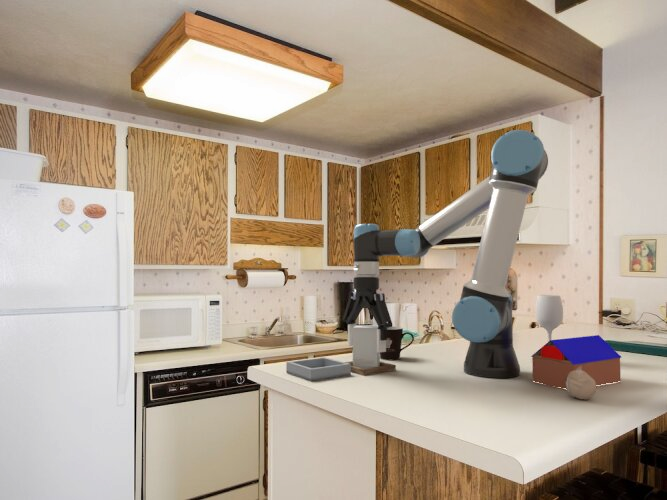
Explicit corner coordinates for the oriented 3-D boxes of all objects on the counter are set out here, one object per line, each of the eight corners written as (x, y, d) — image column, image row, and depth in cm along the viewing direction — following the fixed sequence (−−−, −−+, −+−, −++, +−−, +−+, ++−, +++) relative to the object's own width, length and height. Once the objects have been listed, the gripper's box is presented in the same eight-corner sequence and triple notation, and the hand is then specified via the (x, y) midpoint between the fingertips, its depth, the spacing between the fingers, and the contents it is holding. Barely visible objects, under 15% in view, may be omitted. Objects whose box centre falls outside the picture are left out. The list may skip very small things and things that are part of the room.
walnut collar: (395, 370, 137) (395, 365, 137) (363, 375, 130) (363, 369, 130) (369, 363, 146) (369, 358, 146) (338, 368, 140) (338, 363, 140)
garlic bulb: (559, 397, 107) (558, 361, 107) (576, 393, 110) (575, 359, 110) (587, 404, 101) (586, 366, 102) (604, 400, 104) (603, 363, 105)
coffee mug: (371, 358, 156) (371, 327, 157) (388, 355, 162) (388, 325, 162) (398, 363, 148) (398, 330, 148) (415, 359, 153) (415, 328, 154)
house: (622, 383, 121) (621, 337, 122) (574, 393, 112) (572, 343, 112) (579, 374, 132) (577, 332, 132) (530, 382, 122) (529, 337, 123)
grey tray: (350, 374, 130) (350, 364, 130) (310, 381, 123) (310, 369, 123) (324, 367, 141) (324, 357, 141) (286, 372, 133) (286, 361, 134)
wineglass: (570, 363, 146) (568, 295, 147) (542, 363, 146) (540, 295, 147) (557, 358, 155) (556, 294, 156) (531, 358, 155) (529, 294, 156)
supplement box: (377, 372, 134) (377, 327, 134) (352, 371, 135) (352, 327, 136) (380, 367, 141) (380, 324, 142) (356, 366, 142) (355, 324, 143)
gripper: (331, 276, 147) (331, 344, 146) (384, 276, 127) (384, 356, 126) (350, 275, 152) (350, 342, 151) (404, 276, 131) (405, 353, 130)
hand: (366, 348), depth 138 cm, fingers open, 13 cm apart
